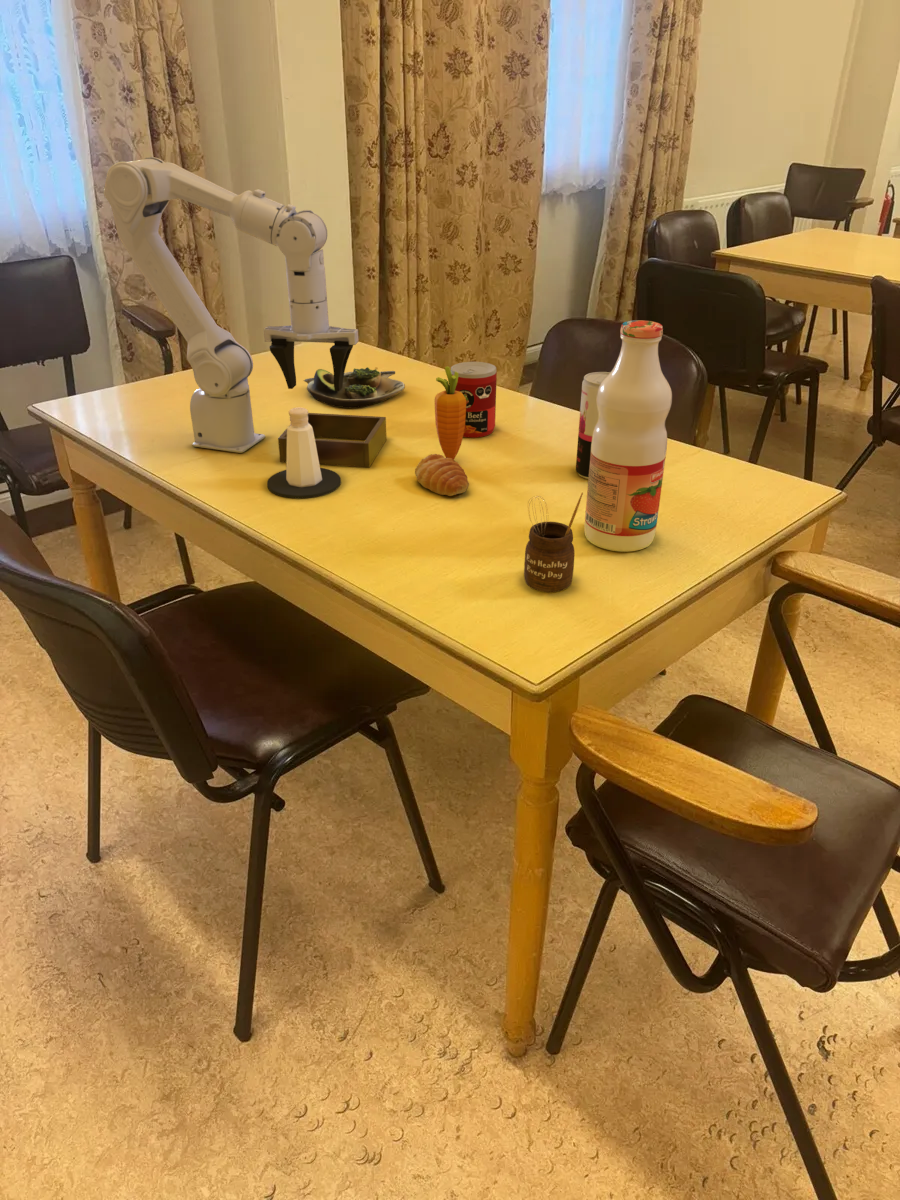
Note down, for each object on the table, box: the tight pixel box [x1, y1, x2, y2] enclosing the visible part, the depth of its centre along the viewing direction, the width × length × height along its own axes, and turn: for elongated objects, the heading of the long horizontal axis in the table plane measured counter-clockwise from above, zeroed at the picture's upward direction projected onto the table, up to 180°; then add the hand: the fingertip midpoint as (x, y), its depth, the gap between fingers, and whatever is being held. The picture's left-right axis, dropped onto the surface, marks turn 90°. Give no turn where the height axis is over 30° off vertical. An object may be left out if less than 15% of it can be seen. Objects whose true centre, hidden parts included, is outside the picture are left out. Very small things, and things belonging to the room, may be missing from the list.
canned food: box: [450, 361, 498, 439], centre depth 152 cm, size 8×8×11 cm
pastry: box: [414, 453, 470, 497], centre depth 133 cm, size 9×7×4 cm
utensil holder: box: [523, 492, 584, 593], centre depth 106 cm, size 6×6×12 cm
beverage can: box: [575, 371, 611, 480], centre depth 135 cm, size 7×6×15 cm
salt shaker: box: [285, 406, 322, 487], centre depth 132 cm, size 5×5×11 cm
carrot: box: [434, 365, 466, 461], centre depth 139 cm, size 5×5×15 cm
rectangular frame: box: [277, 412, 388, 469], centre depth 146 cm, size 15×13×4 cm
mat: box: [266, 467, 342, 499], centre depth 135 cm, size 11×11×1 cm
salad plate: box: [303, 367, 406, 409], centre depth 173 cm, size 19×18×5 cm
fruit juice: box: [583, 319, 673, 553], centre depth 113 cm, size 9×9×28 cm
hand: (315, 388), depth 142 cm, fingers open, 7 cm apart
